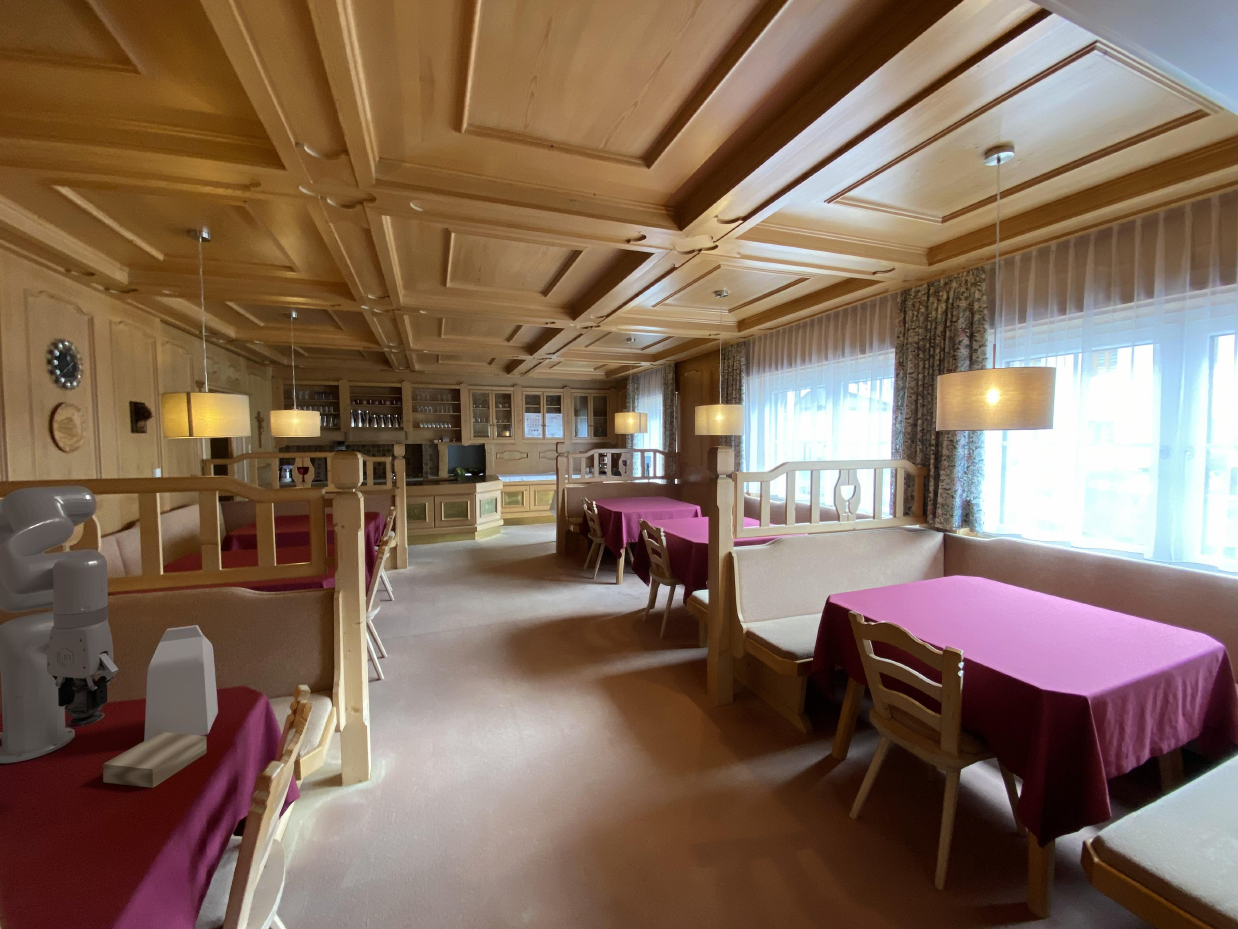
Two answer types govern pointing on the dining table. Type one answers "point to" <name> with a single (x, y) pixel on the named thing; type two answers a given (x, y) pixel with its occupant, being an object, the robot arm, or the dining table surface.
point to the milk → (181, 684)
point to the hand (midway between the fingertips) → (83, 703)
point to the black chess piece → (82, 706)
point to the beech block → (154, 759)
